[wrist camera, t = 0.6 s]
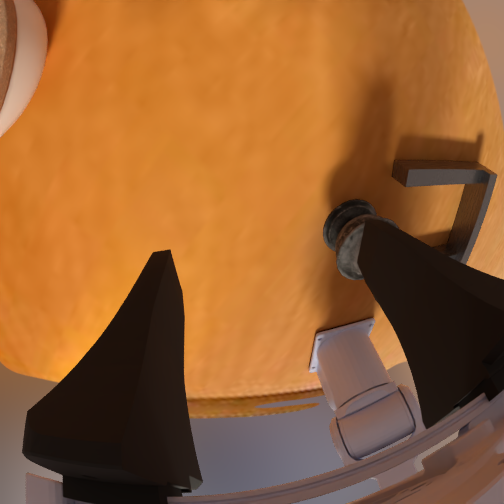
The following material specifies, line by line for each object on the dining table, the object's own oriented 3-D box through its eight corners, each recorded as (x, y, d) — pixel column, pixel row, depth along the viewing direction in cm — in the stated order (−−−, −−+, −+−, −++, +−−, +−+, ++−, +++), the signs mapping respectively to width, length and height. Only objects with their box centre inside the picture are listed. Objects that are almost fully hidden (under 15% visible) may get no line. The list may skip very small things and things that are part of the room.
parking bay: (450, 252, 29) (464, 267, 27) (371, 271, 28) (385, 291, 25) (477, 162, 22) (497, 174, 19) (394, 160, 20) (416, 174, 18)
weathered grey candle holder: (371, 184, 21) (471, 282, 12) (383, 234, 25) (459, 329, 15) (309, 217, 22) (386, 339, 13) (331, 264, 26) (392, 373, 16)
